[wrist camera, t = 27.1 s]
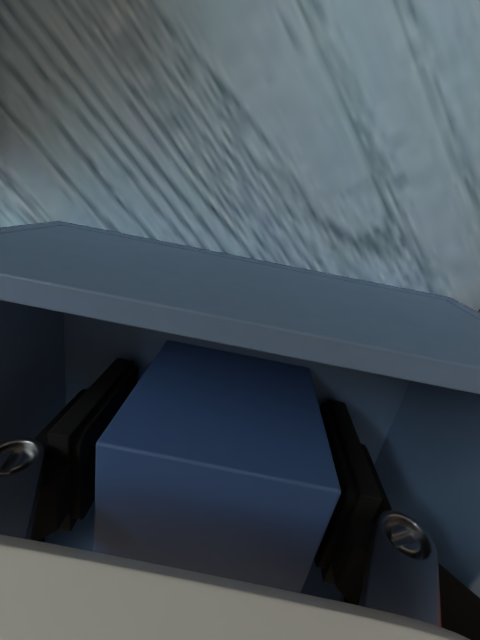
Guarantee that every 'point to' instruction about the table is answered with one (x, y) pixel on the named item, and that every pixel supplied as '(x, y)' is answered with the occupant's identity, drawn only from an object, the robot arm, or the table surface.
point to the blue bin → (257, 341)
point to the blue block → (217, 469)
